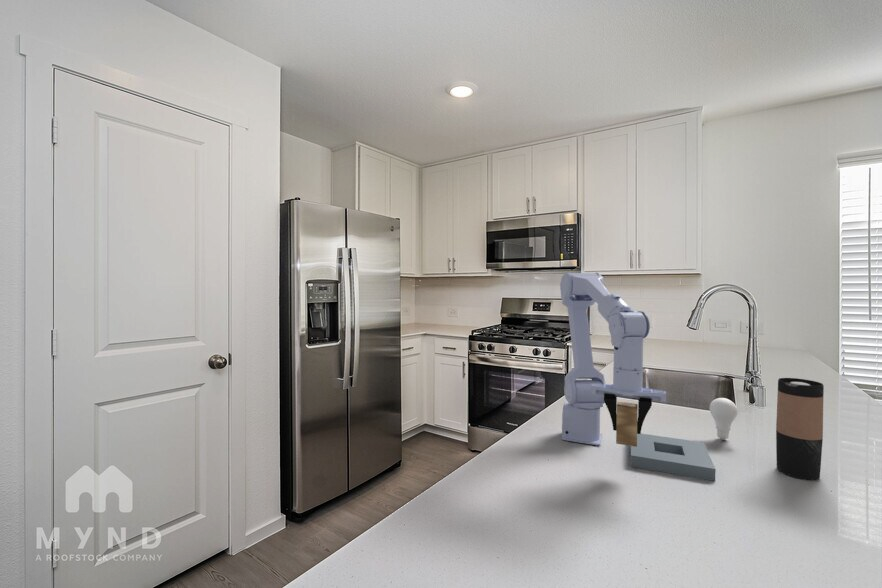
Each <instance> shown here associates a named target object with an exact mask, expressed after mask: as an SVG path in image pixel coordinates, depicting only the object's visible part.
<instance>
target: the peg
mask: <svg viewBox="0 0 882 588" xmlns="http://www.w3.org/2000/svg"><path fill="white" fill-rule="evenodd" d="M616 414H617V422H616V434H615V436H616V437H615V439H616V441H615V444H616V445H623V446H630V447H631V446H634V447H637V421H638V403H632V402H623V401H617V408H616Z"/></svg>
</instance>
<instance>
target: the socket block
mask: <svg viewBox="0 0 882 588" xmlns="http://www.w3.org/2000/svg"><path fill="white" fill-rule="evenodd" d="M630 467H633V468H637V469H638V468H640V469H644V470H650V471H656V472H661V473H667V474H674V475H679V476H686V477H692V478H696V479H702V480H709V481H714V482H716V472H717V471H716V467H715V464H714V463H713V460H712V458H711V455H710V454H709V451H708V449H707V447H706V445H705V443H704V441H697V440H690V439H683V438H675V437H667V436H662V435H655V434H654V435H653V434H648V433H641V434H637V447H634V446H630Z"/></svg>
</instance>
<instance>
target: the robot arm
mask: <svg viewBox="0 0 882 588" xmlns="http://www.w3.org/2000/svg"><path fill="white" fill-rule="evenodd" d="M559 286H560V297H561V303H562V305H563V306H565V307H566V308H567V313H568V323H569V331H570V339H571V340H570V341H571V342H570V343H571V348H572V352H571V353H572V358H573V368H572V369H571V370H570V371H568V373H566V375H565V376H564V388H563V389H564V390H563V391H564V398H565V400H566V402H564V403H563V406H562V418H561V420H562V421H561V440H562V441H569V442H573V443H574V442H575V443H579V444H580V443H581V444H587V445H592V446H601V444H602V438H603V434H602V433H601V408H603V407H604V404H605V406H606V408H607V410H608V414H609V415H610V420H611V423H612V430H613V431H616V422H617V402H618V398H617V397H621V398H631V399H638V402H637V405H638V415H637V434H642V427H643V424H644V422H645V419H646V416H647V415H648V413H649V411H650V410H651V408H652V405H653V401H656V402H660V403H667V392H666V391H665V390H661V389H660V390H658V389H655V388H647V387H643V375H644V374H643V372H644V371H643V369H644V367H643V365H644V339H646V338H647V337H648V335H649V333H650V328H651V324H650V323H651V322H650V320H649V317H648V315H647V314H646V313H645V311H642V310H639V311H637V310H633V309H632V307H630V306H629V305H628V304H627V303H626V302H625V300H623V298H621V296H620V294H618V293H610V292H609V290H608V289H607V288H606V286H605V284H604V277H603V276H602V275H601V274H600V273H599V272H585V273H584V272H564V274H563V275H562V277H561V280H560V283H559ZM595 303H596V304H597V311H598V313H599V314H600V315H601V316H602V317H603V318H604V319H605V321H606V322H607V323H608V332H609V334H610V342H611V345H612V347H613V368H612V370H613V375H612V377H613V380H612V381H613V382H612V383H613V384H607V383H606V381H605V374H604V373H602V372H601V371H599V370H598V369H597V368H596V367H595V366H594V365H595V364H594V359H593V358H594V357H593V351H592V343H591V342H592V341H591V335H590V326H589V318H588V309H589V307H591V306H593V305H594V304H595Z"/></svg>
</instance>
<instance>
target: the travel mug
mask: <svg viewBox="0 0 882 588" xmlns="http://www.w3.org/2000/svg"><path fill="white" fill-rule="evenodd" d="M824 392H825V391H824V384H823V383H821V382H819V381H815V380H810V379H805V378H796V377H794V378H793V377H781V378H778V380H777V400H776V403H777V404H776V421H775V422H776V425H775V427H776V428H775V429H776V430H775V431H776V432H775V433H776V434H775V441H776V443H775V445H776V447H775V449H776V450H775V451H776V469H777V471H778V472H780V473H781V474H783V475H785V476H788V477H790V478H794V479H798V480H802V481H819V479H820V477H821V470H822V469H821V468H822V451H823V450H822V449H823V437H824V436H823V435H824Z"/></svg>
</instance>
